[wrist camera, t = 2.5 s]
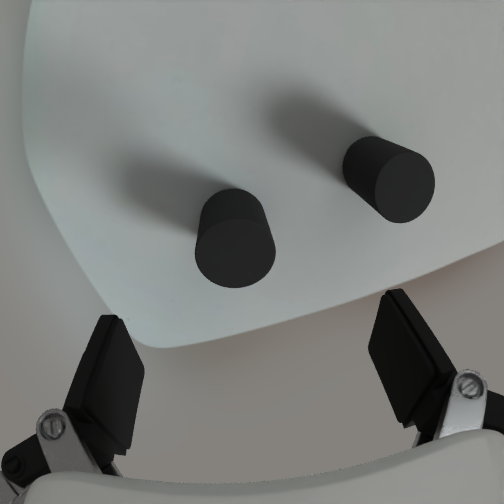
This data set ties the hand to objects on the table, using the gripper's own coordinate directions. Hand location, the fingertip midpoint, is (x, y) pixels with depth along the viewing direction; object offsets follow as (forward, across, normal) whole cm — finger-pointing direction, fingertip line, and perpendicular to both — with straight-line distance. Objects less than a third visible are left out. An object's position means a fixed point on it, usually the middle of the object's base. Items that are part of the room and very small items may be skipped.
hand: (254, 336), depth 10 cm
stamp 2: (+10, -8, -3) cm, 13 cm away
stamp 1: (+10, +1, 0) cm, 10 cm away
